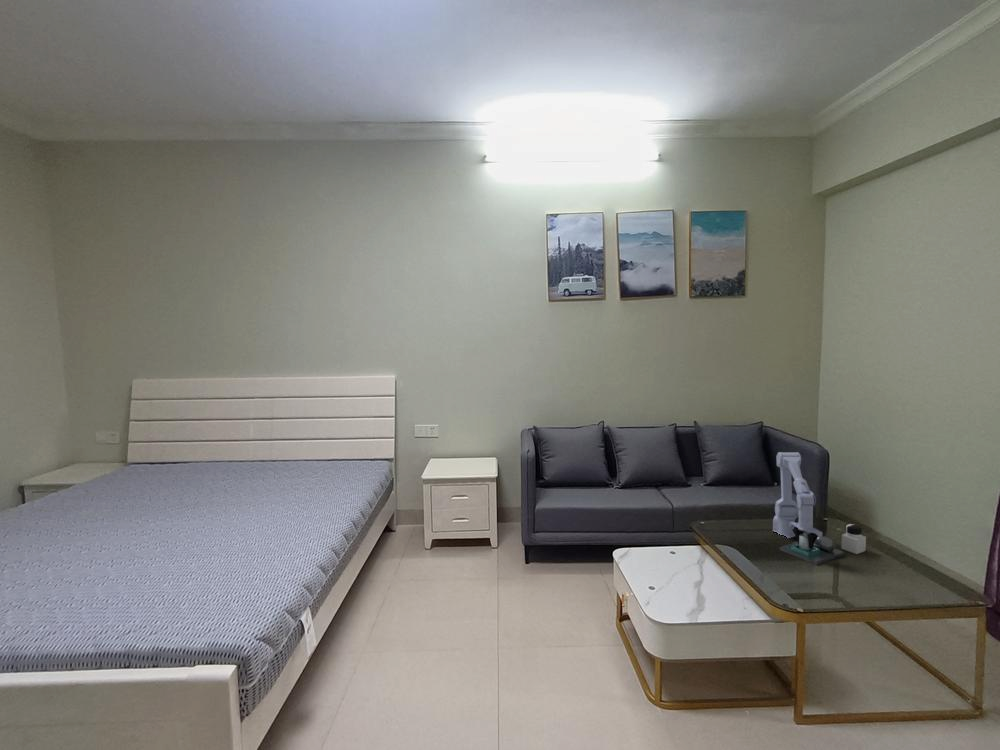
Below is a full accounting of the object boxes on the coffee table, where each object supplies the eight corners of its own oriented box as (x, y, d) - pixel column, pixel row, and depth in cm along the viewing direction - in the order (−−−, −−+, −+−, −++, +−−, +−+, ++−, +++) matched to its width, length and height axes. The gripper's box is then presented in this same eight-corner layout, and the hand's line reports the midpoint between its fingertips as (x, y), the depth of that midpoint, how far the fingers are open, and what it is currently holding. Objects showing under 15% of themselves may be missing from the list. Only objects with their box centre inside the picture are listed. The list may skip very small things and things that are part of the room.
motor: (779, 550, 242) (779, 535, 241) (806, 540, 250) (806, 527, 250) (816, 565, 226) (816, 550, 225) (844, 555, 234) (844, 540, 233)
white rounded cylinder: (796, 548, 237) (796, 535, 236) (803, 546, 239) (803, 533, 238) (806, 552, 233) (806, 539, 232) (813, 550, 234) (813, 536, 234)
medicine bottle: (866, 551, 237) (866, 526, 236) (857, 554, 234) (857, 529, 233) (850, 545, 243) (850, 521, 242) (841, 548, 240) (841, 524, 239)
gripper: (785, 514, 239) (785, 541, 241) (815, 524, 226) (815, 553, 227) (795, 511, 242) (794, 538, 243) (825, 521, 229) (824, 550, 230)
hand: (805, 545), depth 236 cm, fingers closed on white rounded cylinder, 5 cm apart
